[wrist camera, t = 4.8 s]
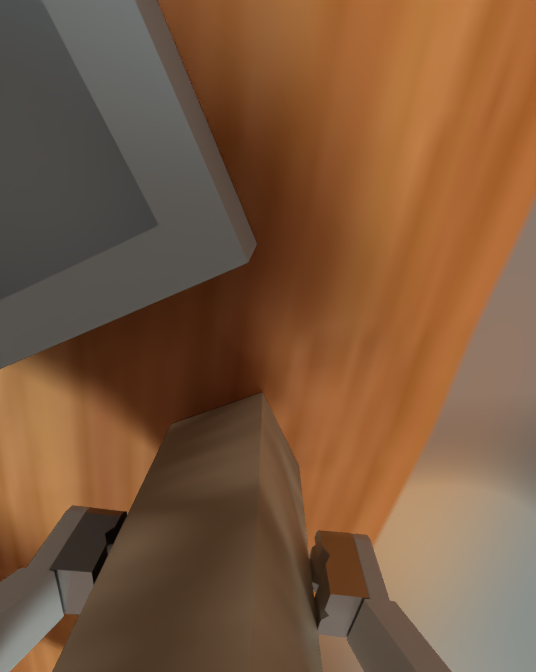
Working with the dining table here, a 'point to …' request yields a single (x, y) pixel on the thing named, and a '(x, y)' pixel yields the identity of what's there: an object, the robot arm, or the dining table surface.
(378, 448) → the dining table surface
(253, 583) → the block
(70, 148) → the divided grey tray
